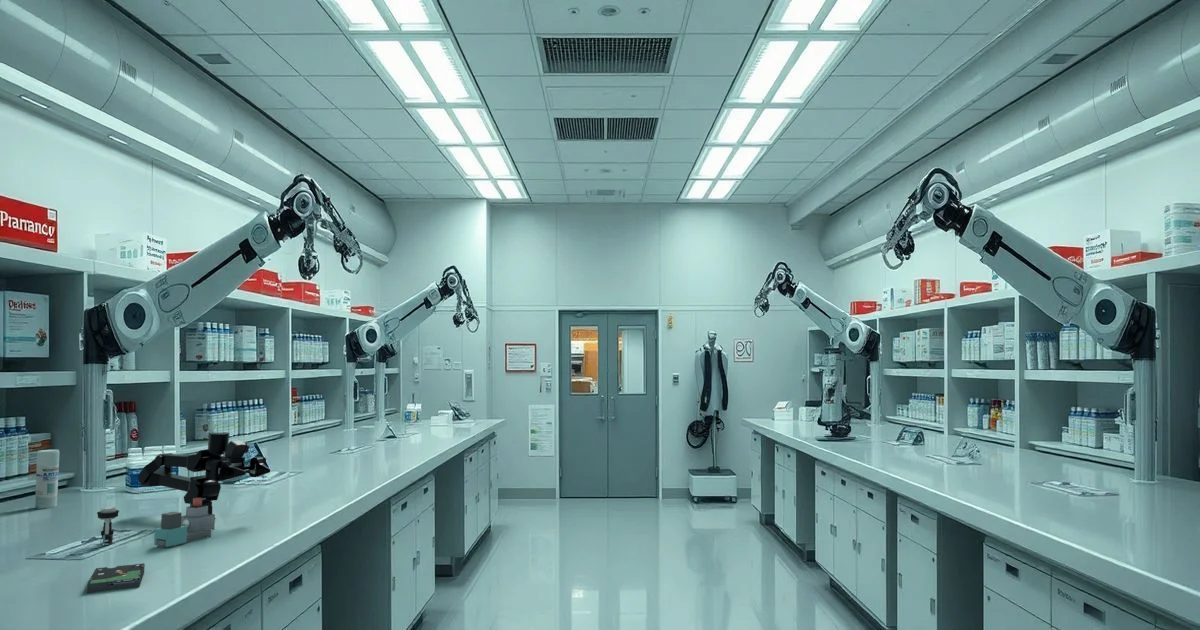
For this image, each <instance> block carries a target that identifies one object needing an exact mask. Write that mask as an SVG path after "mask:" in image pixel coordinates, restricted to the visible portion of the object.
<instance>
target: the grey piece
mask: <svg viewBox="0 0 1200 630" xmlns="http://www.w3.org/2000/svg"><path fill="white" fill-rule="evenodd" d="M185 509H186V510H185V515H181V526H187V533H190V532H194V531H198V530H203V529H206V530H211V529H213V530H215V528H216V527H215V526H216V525H215V523H216V522H215V521H216V520H215V518H216V514H213V513H212V514H208V506H206V505H202V506H201V507H193V506H190V505H188V506H186V508H185ZM211 531H212V530H211Z"/></svg>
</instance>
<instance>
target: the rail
mask: <svg viewBox="0 0 1200 630" xmlns="http://www.w3.org/2000/svg"><path fill="white" fill-rule="evenodd" d="M207 537H209V538H211V537H212V530H206V529H203V530H198V531H194V532H190V533H187V542H185V543H181V544H177V545H173V546H169V547H165V540H162V539H159V540H157V545H156V548H161V549H167V548H171V547H174V546H175V547H177V546H178V545H179V546H180V545H183V544H187V543H191V542H195V541H200V540H205V539H208V538H207ZM204 538H205V539H204Z"/></svg>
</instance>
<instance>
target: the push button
mask: <svg viewBox="0 0 1200 630" xmlns="http://www.w3.org/2000/svg"><path fill="white" fill-rule="evenodd" d="M116 508H117V507H116V506H108V507H107V506H105V507H102V508H100V511H97V512H96V514H97V518H98V519H99V520H101V521H102V520H103V527H102V530H101V531H100V536H101V538H100V540H102V541H100V543H101V544H102V545H103V544H104V546H109V545H108V544H110V545H111V543H112V542H111V541H112V540H113V541H114V532H115V529H113V527H112V525H113V524H112V523H113V522H112V520H114V519H116V517H117V518H118V517H119V513H120V510H119V509H116ZM110 542H111V543H110Z"/></svg>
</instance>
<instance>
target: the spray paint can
mask: <svg viewBox="0 0 1200 630" xmlns="http://www.w3.org/2000/svg"><path fill="white" fill-rule="evenodd" d="M60 453H61V452H60V449H42V450H38V451H37V453H36V473H35V497H34V498H35V500H34V503H35V504H34V507H35V509H38V510H39V509H40V510H43V509H51V508H56V507H57V505H58V490H59V487H58V486H59V471H60V470H59V468H60Z"/></svg>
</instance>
